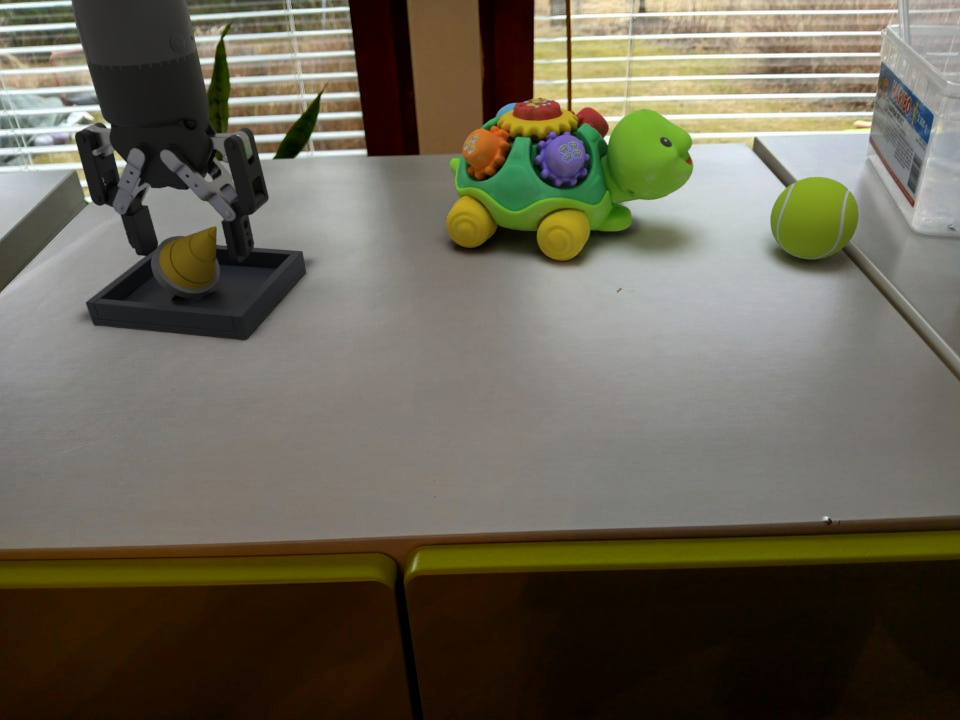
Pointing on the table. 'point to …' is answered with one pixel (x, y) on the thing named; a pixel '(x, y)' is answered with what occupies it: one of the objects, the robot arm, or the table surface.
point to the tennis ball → (814, 218)
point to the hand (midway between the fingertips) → (193, 255)
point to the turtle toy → (562, 173)
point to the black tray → (219, 313)
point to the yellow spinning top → (187, 264)
